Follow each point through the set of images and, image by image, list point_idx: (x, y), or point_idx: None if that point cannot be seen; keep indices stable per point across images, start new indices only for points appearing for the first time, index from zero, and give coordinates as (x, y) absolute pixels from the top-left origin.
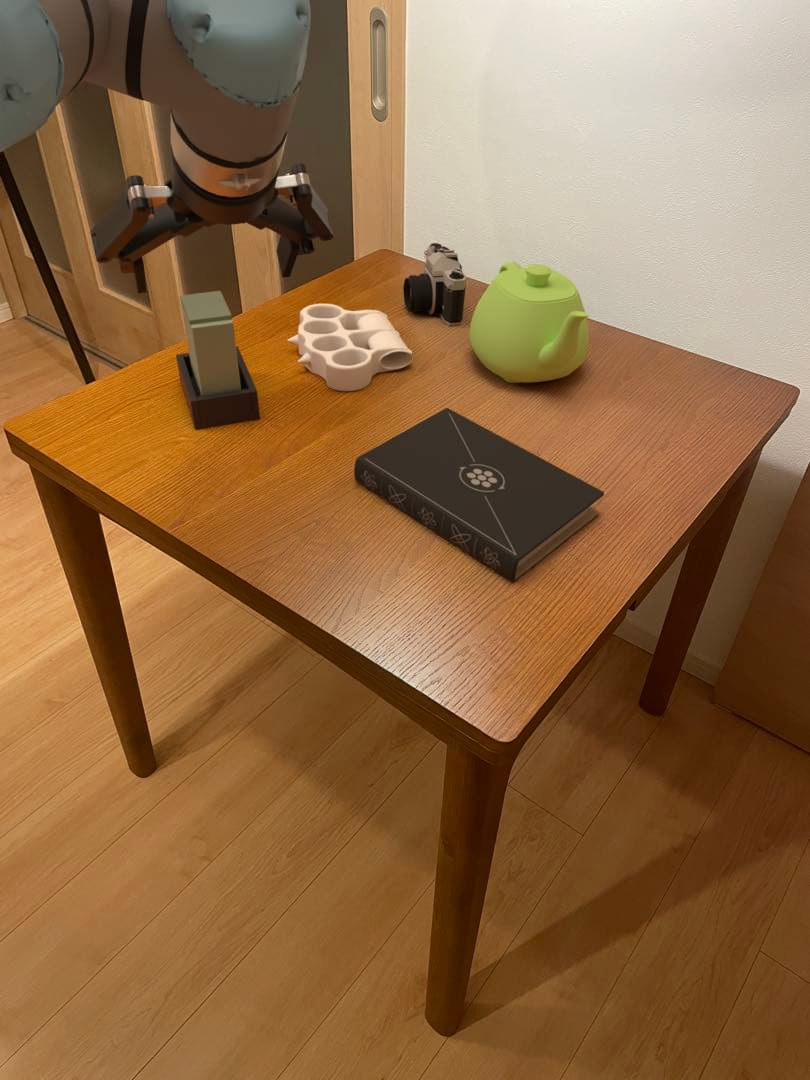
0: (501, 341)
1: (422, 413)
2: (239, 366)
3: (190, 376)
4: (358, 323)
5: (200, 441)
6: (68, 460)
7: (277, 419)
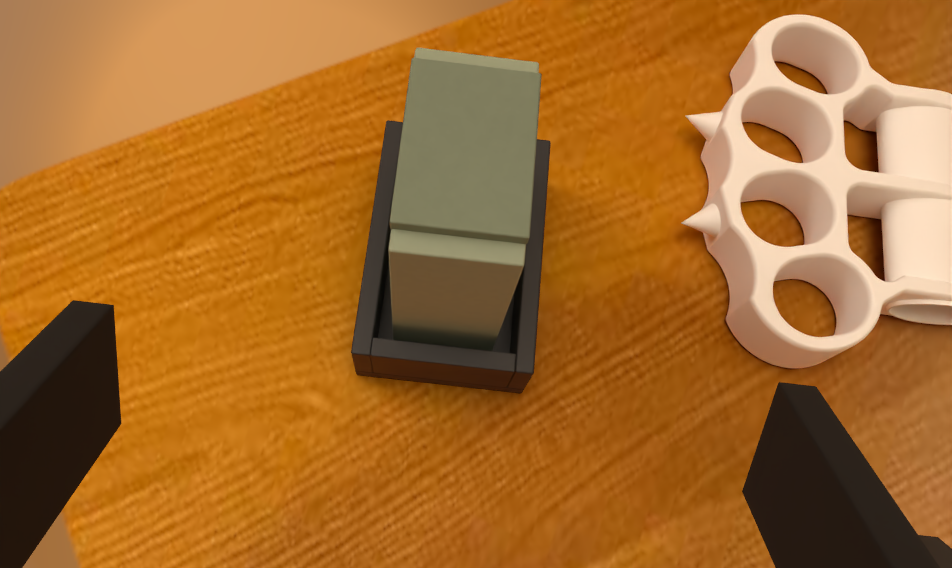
0: None
1: None
2: None
3: None
4: (886, 119)
5: (352, 429)
6: None
7: (562, 412)
